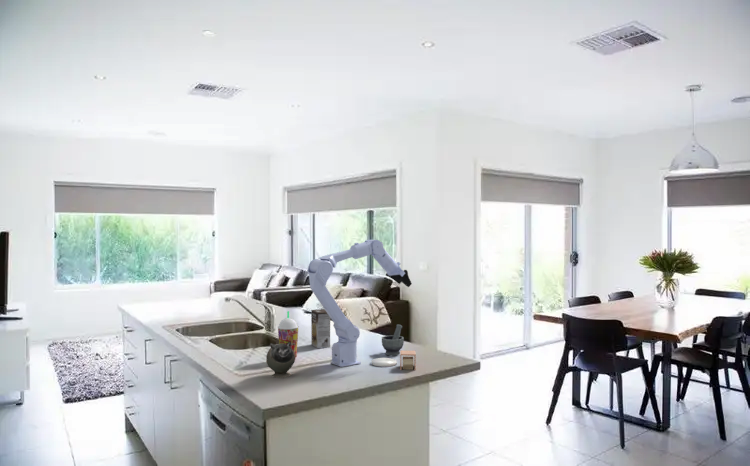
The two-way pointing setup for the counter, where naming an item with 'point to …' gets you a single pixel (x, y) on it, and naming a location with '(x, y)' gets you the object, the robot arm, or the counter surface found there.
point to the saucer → (384, 362)
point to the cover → (408, 353)
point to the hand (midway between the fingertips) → (405, 283)
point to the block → (407, 362)
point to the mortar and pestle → (393, 342)
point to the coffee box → (320, 328)
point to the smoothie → (288, 332)
